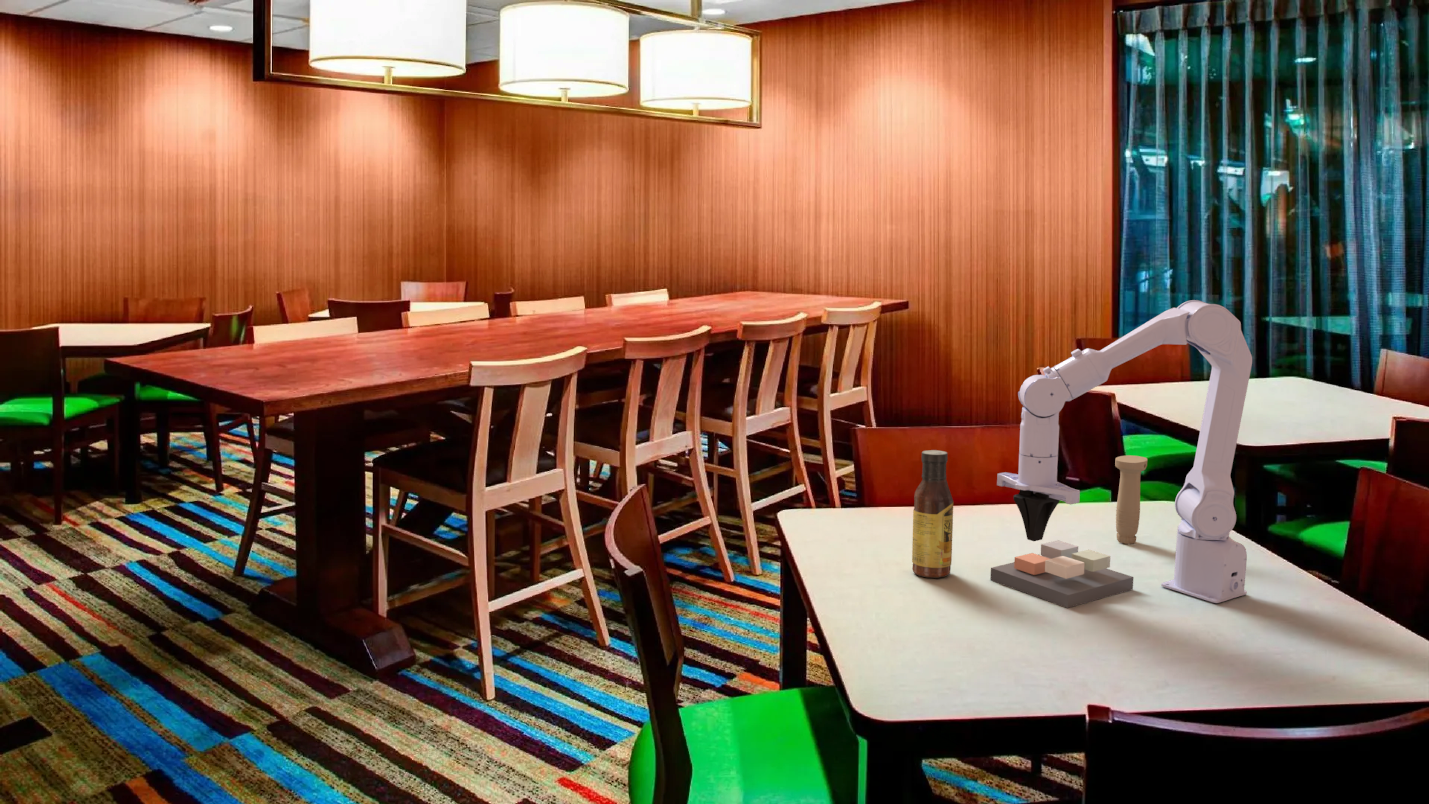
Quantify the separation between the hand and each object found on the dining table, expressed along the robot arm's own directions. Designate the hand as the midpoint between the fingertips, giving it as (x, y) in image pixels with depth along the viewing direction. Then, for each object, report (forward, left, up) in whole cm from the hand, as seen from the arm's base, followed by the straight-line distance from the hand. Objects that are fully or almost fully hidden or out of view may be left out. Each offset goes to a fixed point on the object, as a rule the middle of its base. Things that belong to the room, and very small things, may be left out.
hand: (1034, 539), depth 167 cm
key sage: (-6, -6, -4) cm, 9 cm away
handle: (+6, -31, -7) cm, 32 cm away
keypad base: (-3, -3, -7) cm, 8 cm away
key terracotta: (0, 0, -5) cm, 5 cm away
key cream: (-6, 0, -4) cm, 7 cm away
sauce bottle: (+12, +10, -7) cm, 17 cm away
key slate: (0, -6, -4) cm, 7 cm away
